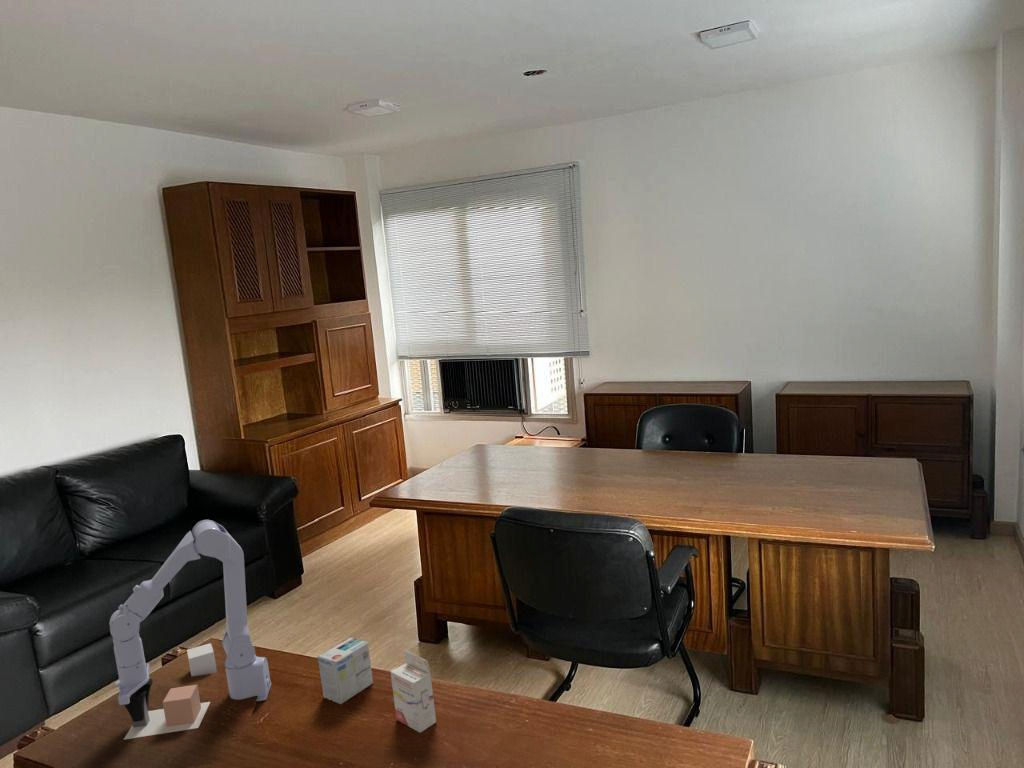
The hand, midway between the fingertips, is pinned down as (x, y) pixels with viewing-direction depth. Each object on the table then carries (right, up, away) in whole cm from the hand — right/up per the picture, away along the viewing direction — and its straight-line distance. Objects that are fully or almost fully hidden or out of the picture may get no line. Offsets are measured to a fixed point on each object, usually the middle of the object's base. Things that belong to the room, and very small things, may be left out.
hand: (140, 717), depth 177 cm
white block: (+5, +1, +25) cm, 25 cm away
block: (+9, -1, +1) cm, 10 cm away
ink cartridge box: (+64, +2, -7) cm, 64 cm away
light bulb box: (+46, +2, +9) cm, 47 cm away
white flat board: (+6, -2, +1) cm, 7 cm away
